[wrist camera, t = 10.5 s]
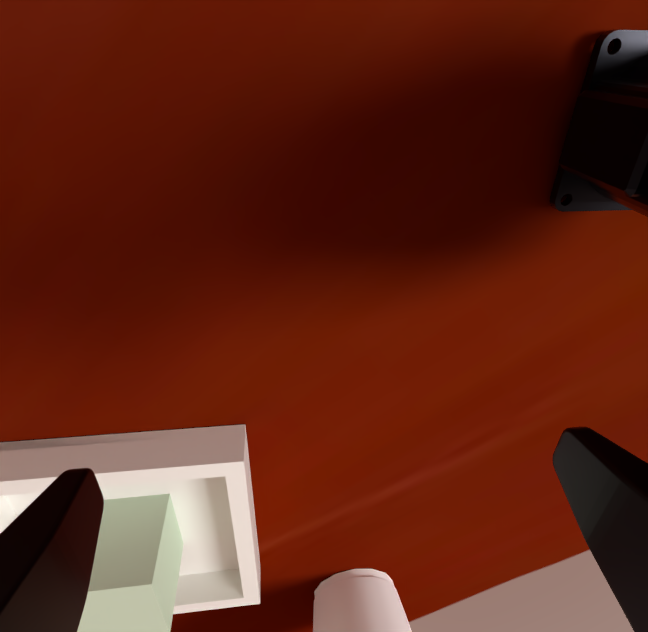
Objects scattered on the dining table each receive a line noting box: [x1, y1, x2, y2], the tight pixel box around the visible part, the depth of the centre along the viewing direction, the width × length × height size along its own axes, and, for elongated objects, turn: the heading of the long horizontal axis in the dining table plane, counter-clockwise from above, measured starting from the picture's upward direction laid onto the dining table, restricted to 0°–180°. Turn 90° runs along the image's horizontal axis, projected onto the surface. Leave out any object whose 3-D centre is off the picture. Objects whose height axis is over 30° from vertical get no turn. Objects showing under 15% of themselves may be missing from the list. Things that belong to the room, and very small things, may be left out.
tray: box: [0, 424, 260, 614], centre depth 26 cm, size 14×14×2 cm
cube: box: [77, 494, 184, 632], centre depth 24 cm, size 5×5×5 cm
